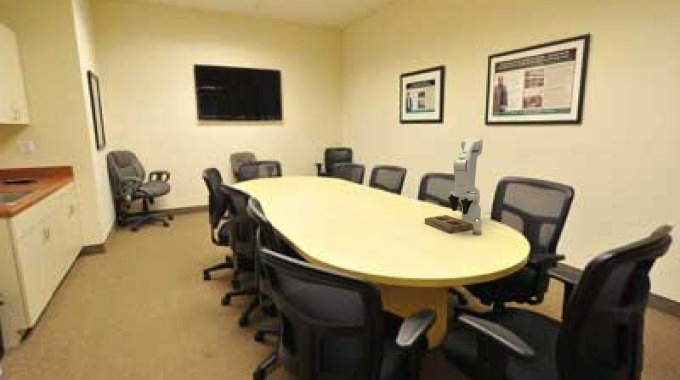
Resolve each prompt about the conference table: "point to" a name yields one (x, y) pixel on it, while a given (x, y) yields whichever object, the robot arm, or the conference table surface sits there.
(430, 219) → the jig plate
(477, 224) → the battery
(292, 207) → the conference table surface
